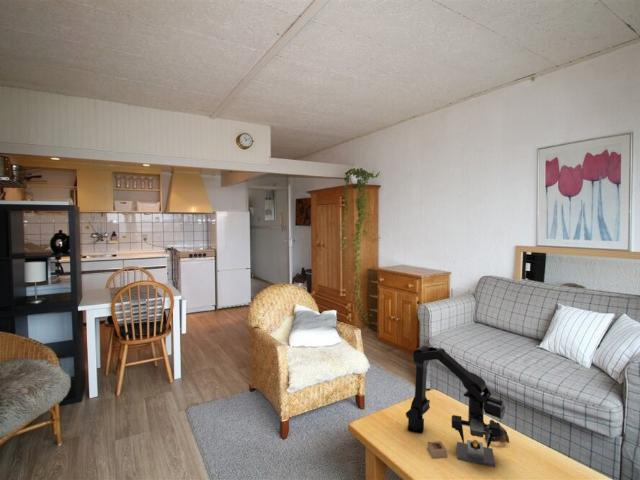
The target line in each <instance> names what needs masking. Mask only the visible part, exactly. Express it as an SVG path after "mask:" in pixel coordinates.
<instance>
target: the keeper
mask: <svg viewBox="0 0 640 480" xmlns="http://www.w3.org/2000/svg"><path fill="white" fill-rule="evenodd" d="M472 441H473V448H476V449H478V442H479V441H478V440H477V439H473V440H472ZM483 449H484V459H482V458H477V457H472V456H468V453H467V442H466V443H465V442H464V443H463V442H461V441H456V454H457V455H456V456H457V460H458V461H464V462H467V463H472V464H477V465H481V466H482V465H483V466H488V467H492V468H496V462H495V461H496V460H495V456H494V455H495V454H494V451H493V450H494V449H493V448H491V447H488V448H487V446H483Z"/></svg>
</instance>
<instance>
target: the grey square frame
mask: <svg viewBox="0 0 640 480" xmlns="http://www.w3.org/2000/svg"><path fill="white" fill-rule="evenodd" d="M483 443H484V442H481V441H478V449H476V448H473V440H470V439H467V440H466V444H467V453H468V456H472V457H477V458H482V459H484V449H483V447H484V444H483Z"/></svg>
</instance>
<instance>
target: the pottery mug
mask: <svg viewBox="0 0 640 480" xmlns="http://www.w3.org/2000/svg"><path fill="white" fill-rule="evenodd" d="M490 421H491V422H495V420H494V419H491V420H489V421H488V422H489V423H490ZM489 423H487V424H488V425H489ZM500 426H501V430H502V436H501V437H498V438H493V440H492V441H491V443H497V442H502V443H503V442H504V440H503V438H506V440H507V442H508V443H510V438H509V435H508V432H507V429H505V428H504V427H503V426H502V425H500ZM487 437H488V434H487V435H484V438H485V440H486V441H487Z"/></svg>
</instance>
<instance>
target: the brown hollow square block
mask: <svg viewBox="0 0 640 480" xmlns="http://www.w3.org/2000/svg"><path fill="white" fill-rule="evenodd" d="M426 442H427V443H426V444H427V445H426V448H427V452H428V453H429V454H430V456H431V458H432V459H437V458H438V459H441V458H443V459H444V458H448V449H447V448H446V447H445V445H444V443H443V442H442V441H441V440H436V441H426Z"/></svg>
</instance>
